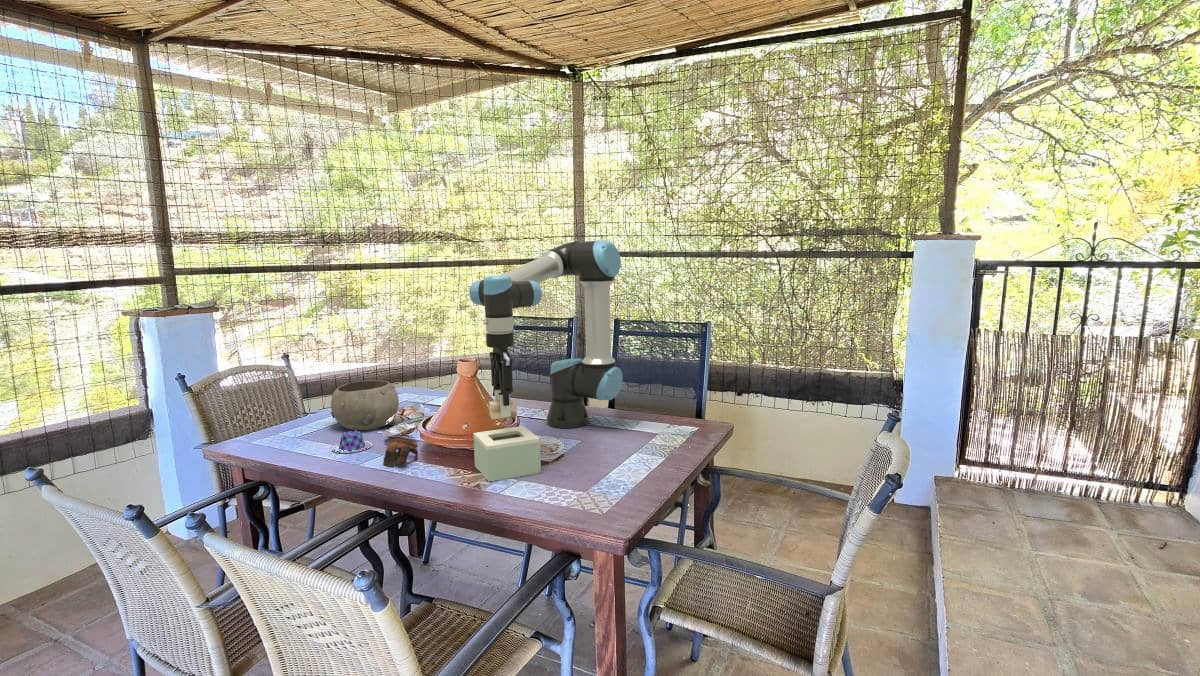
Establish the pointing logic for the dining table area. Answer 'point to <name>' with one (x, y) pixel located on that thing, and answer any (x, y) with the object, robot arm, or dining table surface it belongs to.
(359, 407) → the bowl
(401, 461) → the pottery mug
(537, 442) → the slot box
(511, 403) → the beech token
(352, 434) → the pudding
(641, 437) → the dining table surface
